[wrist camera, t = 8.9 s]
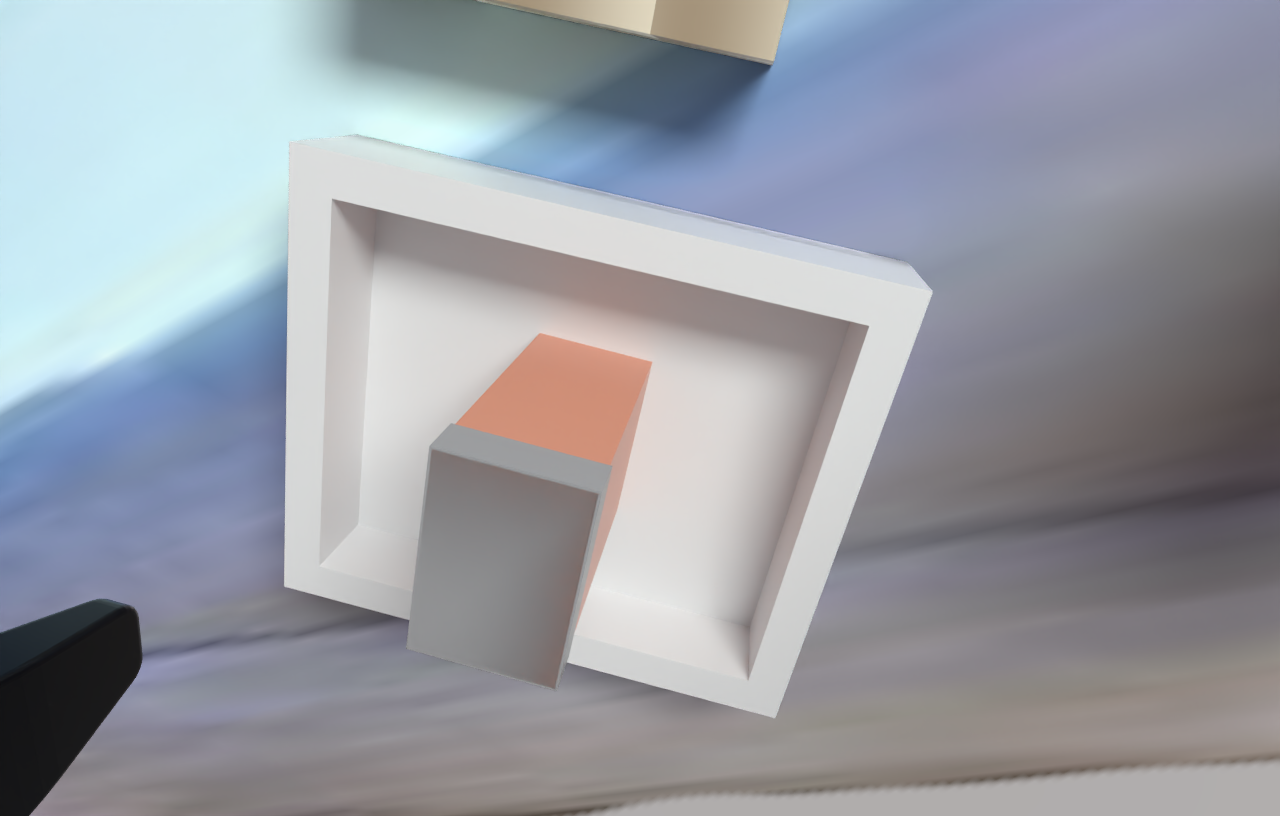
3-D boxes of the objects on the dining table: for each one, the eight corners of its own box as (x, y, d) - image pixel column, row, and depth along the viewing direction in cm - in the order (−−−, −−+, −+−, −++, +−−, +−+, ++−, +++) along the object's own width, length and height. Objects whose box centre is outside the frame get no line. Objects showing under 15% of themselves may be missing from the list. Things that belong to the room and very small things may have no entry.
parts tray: (907, 262, 18) (932, 291, 16) (773, 644, 23) (775, 718, 20) (357, 134, 19) (289, 141, 16) (339, 530, 24) (284, 586, 21)
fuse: (654, 360, 19) (601, 492, 13) (618, 511, 21) (557, 691, 15) (538, 330, 20) (428, 446, 13) (512, 482, 21) (406, 648, 15)
